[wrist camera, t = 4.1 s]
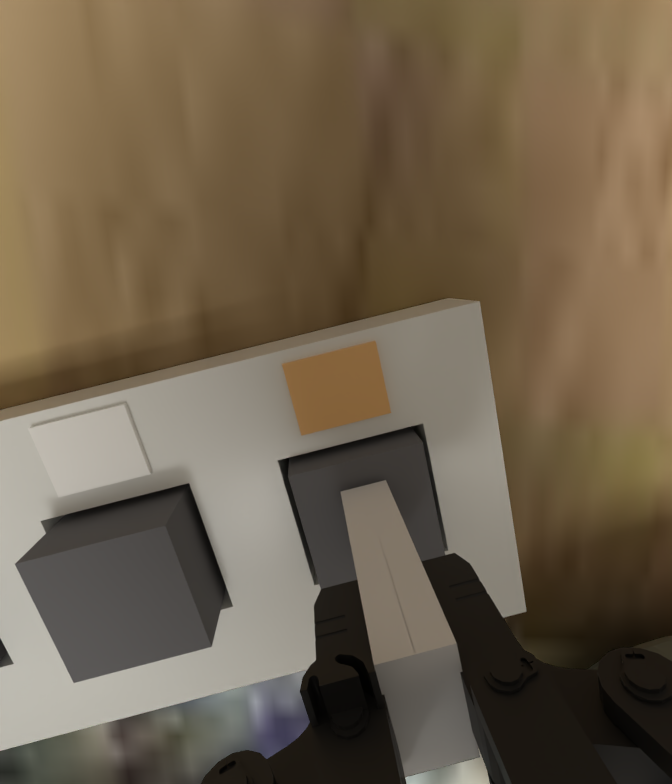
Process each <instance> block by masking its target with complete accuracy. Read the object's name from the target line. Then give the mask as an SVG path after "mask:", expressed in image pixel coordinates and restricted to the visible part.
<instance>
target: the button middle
mask: <svg viewBox="0 0 672 784" xmlns="http://www.w3.org/2000/svg"><path fill="white" fill-rule="evenodd" d="M15 566H16V568H17V570H18V572H19V574H20V576H21V578H22V580H23V582H24V584H25V586H26V588H27V590H28V592H29V594H30V596H31V598H32V600H33V602H34V604H35V606H36V608H37V610H38V612H39V614H40V616H41V618H42V620H43V622H44V624H45V626H46V628H47V630H48V632H49V634H50V636H51V638H52V640H53V642H54V644H55V646H56V648H57V650H58V652H59V654H60V656H61V658H62V660H63V662H64V664H65V666H66V668H67V671H68V673H69V675H70V677H71V679H72V681H73V683H76V682H80V681H84V680H88V679H91V678H95V677H99V676H103V675H107V674H110V673H114V672H118V671H122V670H126V669H129V668H133V667H137V666H141V665H145V664H148V663H152V662H156V661H160V660H164V659H168V658H171V657H175V656H179V655H183V654H187V653H190V652H194V651H198V650H202V649H206V648H209V647H212V644H213V640H214V636H215V631H216V627H217V623H218V619H219V615H220V611H221V607H222V602H223V598H224V594H225V590H226V585H225V582H224V579H223V577H222V574H221V571H220V568H219V565H218V563H217V560H216V557H215V554H214V551H213V549H212V546H211V543H210V540H209V537H208V535H207V532H206V529H205V526H204V523H203V521H202V518H201V515H200V512H199V509H198V507H197V504H196V501H195V498H194V495H193V493H192V490H191V487H190V484H189V483H187V484H183V485H179V486H175V487H172V488H168V489H164V490H160V491H156V492H152V493H148V494H144V495H140V496H136V497H132V498H128V499H124V500H121V501H117V502H113V503H109V504H105V505H101V506H97V507H93V508H89V509H85V510H81V511H77V512H73V513H70V514H66V515H64V516H63V517H62V518H61V519H60V520H59V521H58V522H57V523H56V524H55V525H54V526H53V527H52V528H51V529H50V530H49V531H48V532H47V533H46V534H45V535H44V536H43V537H42V538H41V539H40V540H39V541H38V542H37V543H36V544H35V545H34V546H33V547H32V548H31V549H30V550H29V551H28V552H27V553H26V554H25V555H24V556H23V557H21V558H20V559H19V560H18V561H17V562H16V563H15Z"/></svg>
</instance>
